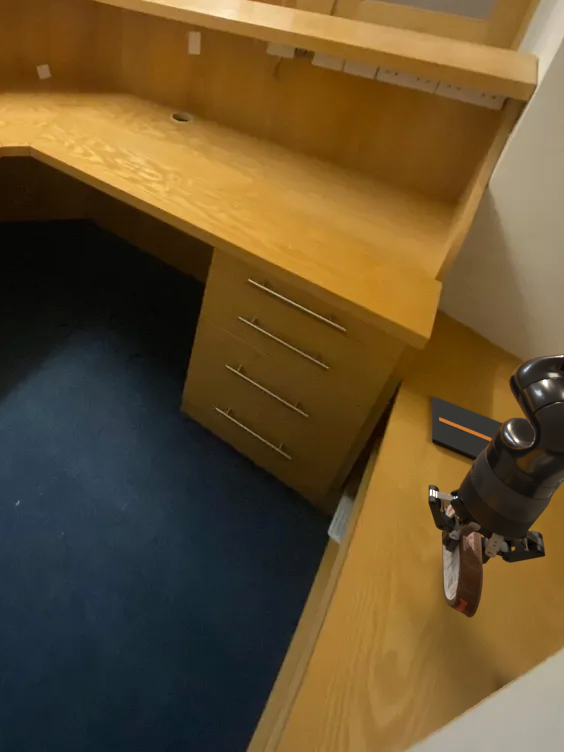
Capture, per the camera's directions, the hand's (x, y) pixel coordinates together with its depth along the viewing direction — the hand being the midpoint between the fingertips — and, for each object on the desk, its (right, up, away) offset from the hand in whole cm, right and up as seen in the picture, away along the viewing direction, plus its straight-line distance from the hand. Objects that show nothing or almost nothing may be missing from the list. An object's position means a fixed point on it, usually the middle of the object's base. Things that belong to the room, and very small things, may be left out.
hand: (461, 550), depth 73 cm
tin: (0, -4, +2) cm, 4 cm away
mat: (+19, +3, +24) cm, 31 cm away
